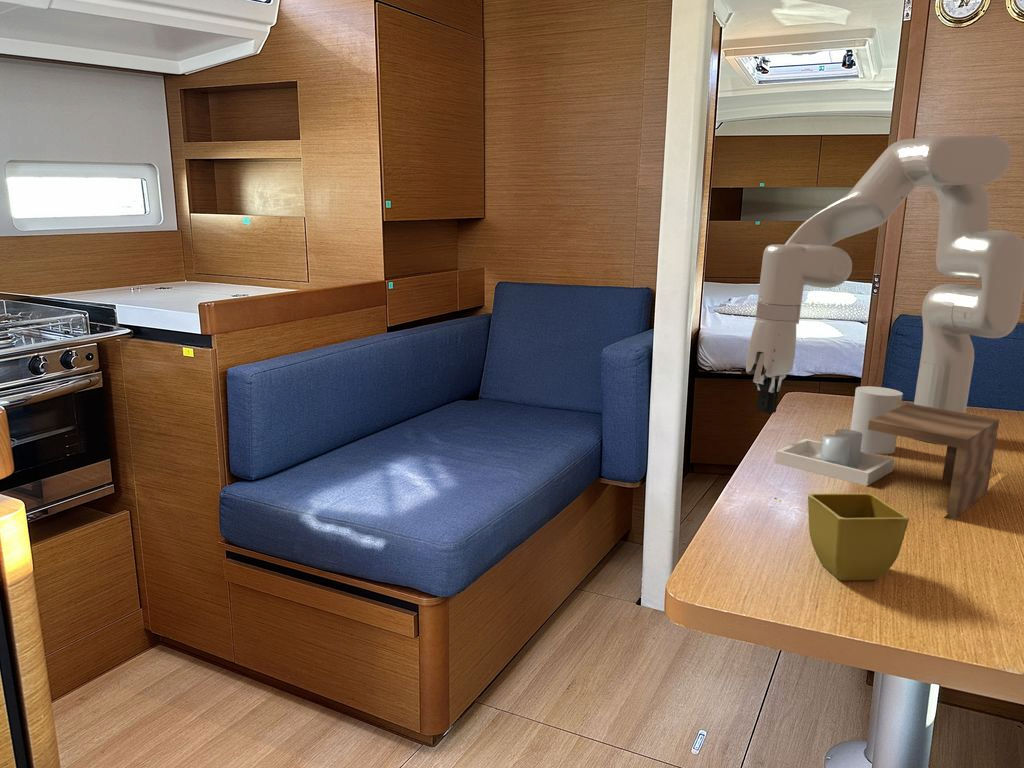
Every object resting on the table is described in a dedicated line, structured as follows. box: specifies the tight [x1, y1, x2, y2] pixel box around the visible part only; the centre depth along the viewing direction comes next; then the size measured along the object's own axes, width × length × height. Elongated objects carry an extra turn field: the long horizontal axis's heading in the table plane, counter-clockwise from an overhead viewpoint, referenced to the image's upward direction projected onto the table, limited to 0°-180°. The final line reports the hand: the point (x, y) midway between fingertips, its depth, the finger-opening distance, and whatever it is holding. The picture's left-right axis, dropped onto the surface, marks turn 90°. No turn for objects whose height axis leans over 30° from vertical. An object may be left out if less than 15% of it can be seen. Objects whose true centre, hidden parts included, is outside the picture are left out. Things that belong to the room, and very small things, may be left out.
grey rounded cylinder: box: [834, 428, 863, 469], centre depth 136 cm, size 4×4×6 cm
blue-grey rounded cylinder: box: [821, 433, 851, 467], centre depth 133 cm, size 4×4×6 cm
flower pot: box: [807, 492, 910, 581], centre depth 95 cm, size 9×9×9 cm
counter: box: [868, 402, 1000, 521], centre depth 124 cm, size 18×14×12 cm
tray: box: [774, 438, 895, 487], centre depth 136 cm, size 12×16×3 cm
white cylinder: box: [850, 385, 904, 455], centre depth 147 cm, size 8×8×12 cm
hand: (765, 411), depth 143 cm, fingers closed
